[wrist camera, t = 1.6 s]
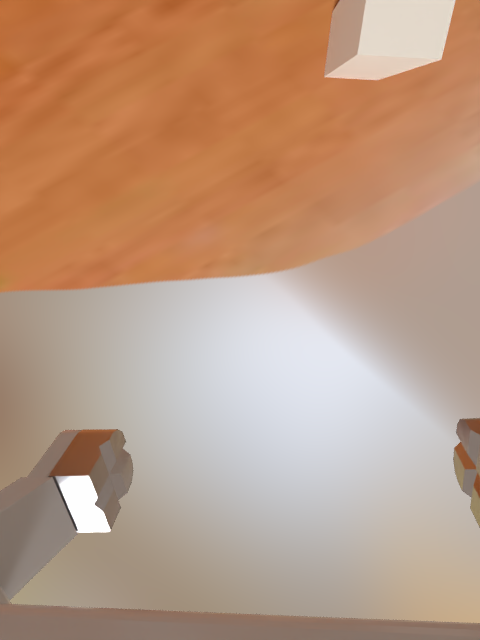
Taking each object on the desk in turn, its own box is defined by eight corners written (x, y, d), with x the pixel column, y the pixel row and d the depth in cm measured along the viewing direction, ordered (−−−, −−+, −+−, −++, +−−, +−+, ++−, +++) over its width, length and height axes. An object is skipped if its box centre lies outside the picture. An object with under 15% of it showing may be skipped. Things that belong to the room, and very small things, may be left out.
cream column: (324, 76, 34) (357, 54, 22) (332, 11, 32) (374, -55, 20) (377, 80, 34) (441, 59, 22) (389, 14, 32) (467, -50, 20)
